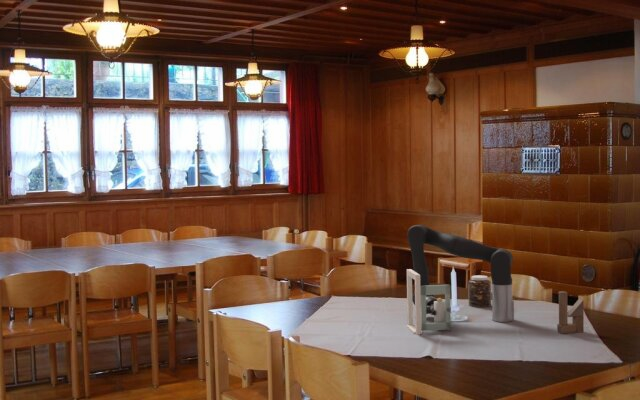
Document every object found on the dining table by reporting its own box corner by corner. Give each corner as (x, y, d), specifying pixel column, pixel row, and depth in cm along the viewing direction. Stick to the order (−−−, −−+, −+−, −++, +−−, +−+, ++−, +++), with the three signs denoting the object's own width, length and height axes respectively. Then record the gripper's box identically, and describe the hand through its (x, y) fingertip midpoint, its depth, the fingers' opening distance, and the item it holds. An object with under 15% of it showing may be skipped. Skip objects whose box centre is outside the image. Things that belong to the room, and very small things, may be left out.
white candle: (444, 324, 355) (443, 296, 354) (447, 327, 350) (446, 298, 349) (432, 324, 355) (432, 297, 354) (435, 327, 349) (435, 299, 348)
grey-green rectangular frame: (422, 331, 344) (422, 286, 343) (421, 330, 347) (420, 285, 346) (451, 329, 346) (450, 285, 345) (449, 328, 349) (449, 284, 347)
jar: (494, 304, 407) (494, 275, 406) (486, 308, 397) (486, 278, 396) (473, 302, 413) (472, 274, 413) (464, 306, 404) (464, 277, 403)
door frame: (414, 325, 362) (412, 268, 360) (423, 334, 344) (422, 274, 342) (405, 326, 361) (404, 269, 360) (414, 334, 344) (413, 275, 342)
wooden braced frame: (583, 332, 340) (583, 291, 339) (561, 334, 338) (561, 292, 337) (579, 330, 344) (579, 290, 343) (557, 332, 342) (556, 291, 341)
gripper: (416, 298, 365) (425, 305, 348) (446, 296, 367) (457, 303, 350) (416, 313, 365) (425, 321, 349) (446, 312, 367) (457, 320, 350)
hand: (441, 312), depth 349 cm, fingers closed on white candle, 5 cm apart
